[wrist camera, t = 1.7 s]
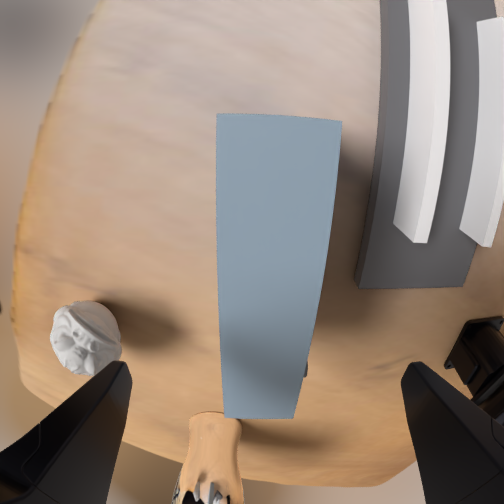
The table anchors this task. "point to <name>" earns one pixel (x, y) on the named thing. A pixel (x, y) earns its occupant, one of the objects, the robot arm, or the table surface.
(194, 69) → the table surface
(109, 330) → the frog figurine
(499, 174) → the hinge frame
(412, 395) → the robot arm
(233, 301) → the door
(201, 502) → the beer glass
